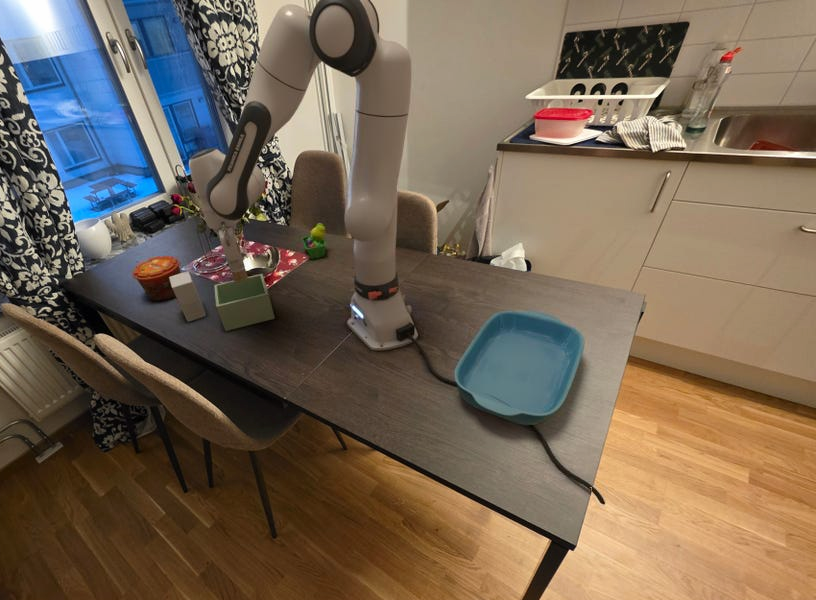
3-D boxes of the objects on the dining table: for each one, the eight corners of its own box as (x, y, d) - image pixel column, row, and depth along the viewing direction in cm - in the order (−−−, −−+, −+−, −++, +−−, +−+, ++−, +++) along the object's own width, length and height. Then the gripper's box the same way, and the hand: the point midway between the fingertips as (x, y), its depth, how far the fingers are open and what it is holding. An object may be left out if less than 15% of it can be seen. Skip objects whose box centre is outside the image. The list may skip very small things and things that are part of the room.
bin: (274, 318, 121) (268, 293, 115) (225, 331, 119) (216, 306, 113) (268, 297, 131) (262, 273, 125) (222, 308, 129) (214, 285, 123)
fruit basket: (303, 249, 156) (298, 222, 149) (324, 245, 157) (321, 217, 150) (308, 261, 148) (303, 233, 140) (331, 256, 149) (327, 228, 141)
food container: (135, 303, 138) (121, 276, 131) (160, 280, 150) (148, 254, 142) (174, 304, 134) (161, 277, 127) (196, 281, 146) (186, 254, 139)
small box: (183, 310, 131) (168, 276, 122) (202, 304, 132) (188, 270, 124) (187, 322, 125) (171, 287, 116) (206, 316, 126) (192, 281, 118)
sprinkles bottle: (243, 273, 119) (231, 231, 110) (250, 278, 116) (238, 235, 108) (230, 279, 117) (216, 236, 108) (237, 284, 114) (224, 241, 106)
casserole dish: (545, 454, 75) (554, 431, 71) (437, 410, 86) (439, 388, 82) (584, 346, 96) (594, 323, 92) (494, 322, 107) (498, 301, 103)
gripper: (236, 227, 97) (250, 276, 106) (230, 202, 112) (243, 247, 121) (211, 233, 96) (227, 282, 105) (208, 207, 111) (223, 251, 121)
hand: (235, 263), depth 114 cm, fingers closed on sprinkles bottle, 4 cm apart
